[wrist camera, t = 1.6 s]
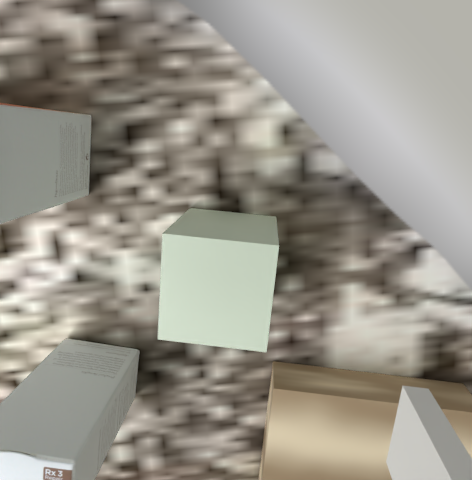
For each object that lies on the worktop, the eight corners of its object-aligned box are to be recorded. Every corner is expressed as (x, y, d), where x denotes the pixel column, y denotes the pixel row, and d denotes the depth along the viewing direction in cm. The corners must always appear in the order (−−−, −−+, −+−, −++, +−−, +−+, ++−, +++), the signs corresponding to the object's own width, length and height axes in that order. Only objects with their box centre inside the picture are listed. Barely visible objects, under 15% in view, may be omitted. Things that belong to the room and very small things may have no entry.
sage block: (267, 297, 31) (266, 352, 23) (185, 288, 31) (157, 339, 23) (276, 216, 29) (279, 245, 21) (190, 207, 29) (162, 233, 22)
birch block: (423, 529, 35) (442, 579, 31) (254, 507, 36) (253, 552, 32) (460, 380, 31) (487, 414, 28) (272, 358, 32) (273, 388, 28)
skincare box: (64, 383, 34) (-46, 517, 22) (65, 332, 32) (-49, 444, 21) (140, 395, 33) (70, 537, 22) (144, 344, 32) (73, 464, 20)
